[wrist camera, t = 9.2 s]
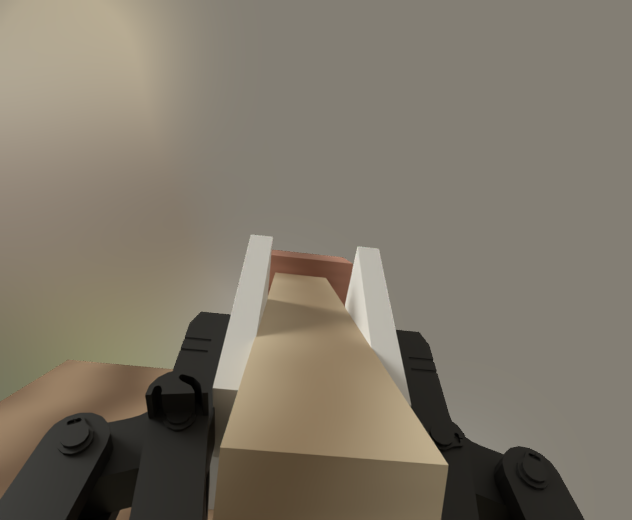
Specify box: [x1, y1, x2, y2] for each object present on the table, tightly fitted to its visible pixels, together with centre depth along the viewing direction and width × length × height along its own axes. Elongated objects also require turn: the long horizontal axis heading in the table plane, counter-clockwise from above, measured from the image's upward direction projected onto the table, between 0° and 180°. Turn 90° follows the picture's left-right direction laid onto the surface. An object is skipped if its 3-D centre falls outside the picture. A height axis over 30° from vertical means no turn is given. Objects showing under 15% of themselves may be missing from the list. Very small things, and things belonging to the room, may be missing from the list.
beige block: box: [213, 250, 449, 520], centre depth 18 cm, size 6×25×4 cm, turn 3°
